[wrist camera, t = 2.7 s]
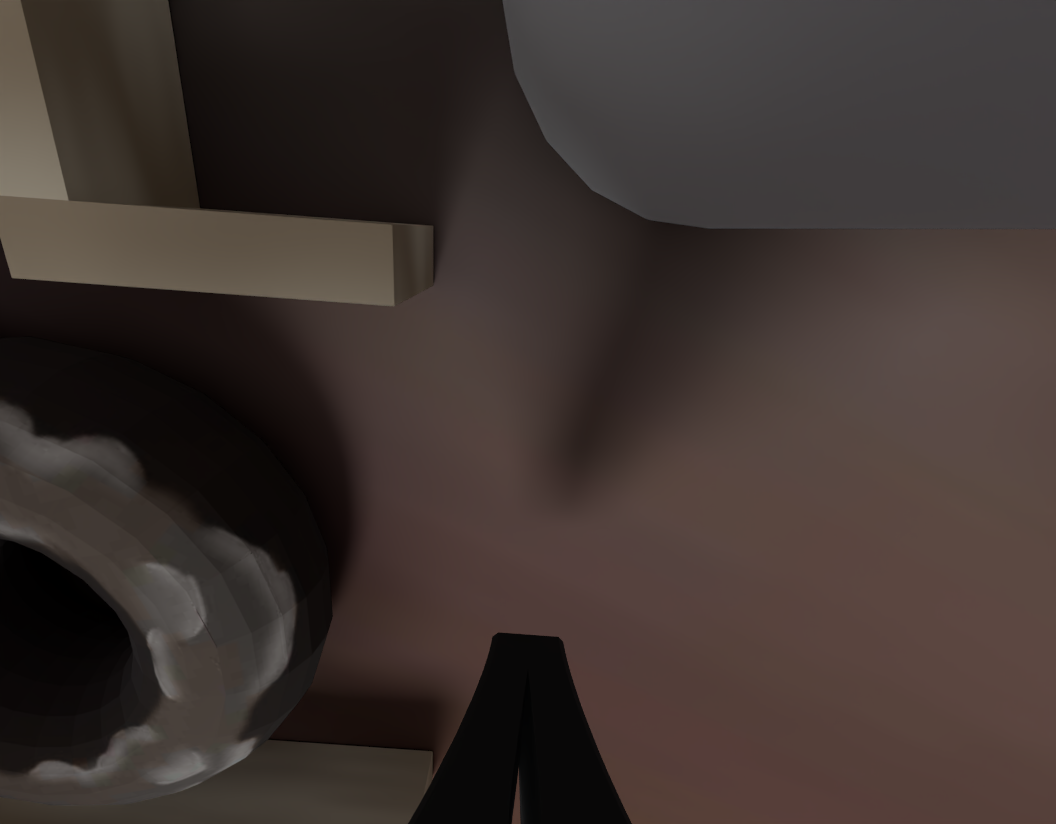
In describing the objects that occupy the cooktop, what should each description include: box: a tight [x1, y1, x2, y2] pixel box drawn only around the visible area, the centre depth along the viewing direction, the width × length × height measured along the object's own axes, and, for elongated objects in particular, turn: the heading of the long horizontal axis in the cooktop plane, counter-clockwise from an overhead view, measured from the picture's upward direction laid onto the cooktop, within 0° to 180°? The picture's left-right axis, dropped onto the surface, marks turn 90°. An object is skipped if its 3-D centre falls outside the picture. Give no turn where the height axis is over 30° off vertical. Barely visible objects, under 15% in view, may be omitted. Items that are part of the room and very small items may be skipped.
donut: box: [0, 337, 333, 806], centre depth 11 cm, size 12×12×4 cm
